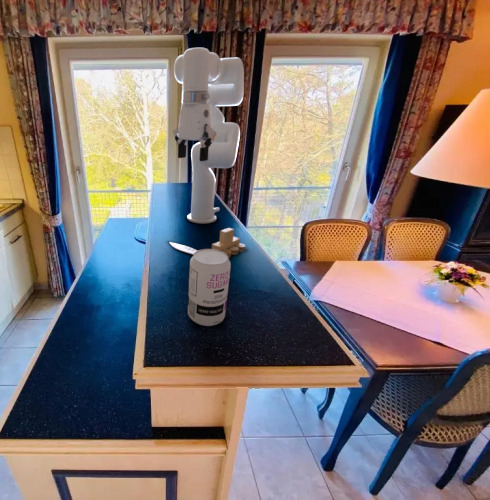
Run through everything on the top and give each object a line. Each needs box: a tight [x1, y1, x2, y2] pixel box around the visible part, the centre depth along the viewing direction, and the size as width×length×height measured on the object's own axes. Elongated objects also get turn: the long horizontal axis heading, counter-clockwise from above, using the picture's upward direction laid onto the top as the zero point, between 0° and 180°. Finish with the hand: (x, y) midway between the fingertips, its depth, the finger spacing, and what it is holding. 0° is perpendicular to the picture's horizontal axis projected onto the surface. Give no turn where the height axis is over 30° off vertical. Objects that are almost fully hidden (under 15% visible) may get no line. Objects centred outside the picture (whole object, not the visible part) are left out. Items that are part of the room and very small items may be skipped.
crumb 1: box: [221, 249, 232, 259], centre depth 89 cm, size 3×3×2 cm
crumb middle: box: [228, 246, 239, 256], centre depth 92 cm, size 3×3×2 cm
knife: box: [169, 241, 231, 279], centre depth 88 cm, size 30×2×8 cm
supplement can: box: [187, 248, 232, 327], centre depth 60 cm, size 8×8×15 cm
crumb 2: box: [235, 242, 246, 252], centre depth 94 cm, size 3×3×2 cm
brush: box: [211, 227, 241, 251], centre depth 93 cm, size 11×3×7 cm, turn 129°
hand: (192, 159), depth 90 cm, fingers open, 9 cm apart
